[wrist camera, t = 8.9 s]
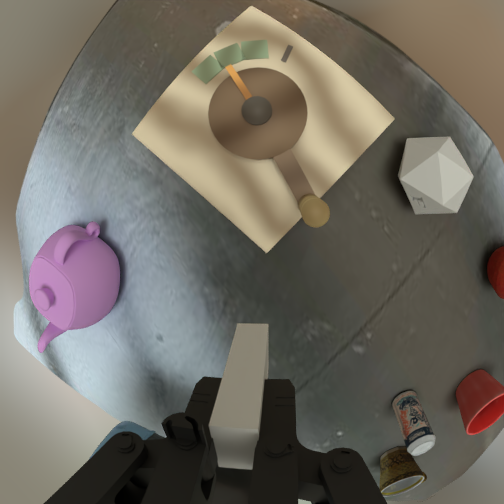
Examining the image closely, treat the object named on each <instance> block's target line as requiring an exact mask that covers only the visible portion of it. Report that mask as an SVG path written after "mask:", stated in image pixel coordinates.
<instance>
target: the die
mask: <svg viewBox="0 0 504 504" xmlns="http://www.w3.org/2000/svg"><path fill="white" fill-rule="evenodd" d="M398 178H399V180H400V182H401V184H402V186H403V188H404V190H405V192H406V194H407V196H408V199H409V201H410V203H411V205H412V207H413V210H414V212H415V214H436V213H457V212H458V210H459V208H460V205H461V203H462V201H463V199H464V197H465V195H466V193H467V190H468V188H469V186H470V184H471V181H472V179H473V175H472V173H471V171H470V169H469V167H468V166H467V164H466V162H465V161H464V159H463V157H462V155H461V154H460V152H459V151H458V149H457V147H456V146H455V144H454V143H453V141H452V140H451V138H450V137H425V138H407V140H406V144H405V149H404V153H403V157H402V161H401V165H400V169H399V172H398Z"/></svg>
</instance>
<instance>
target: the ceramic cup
mask: <svg viewBox="0 0 504 504" xmlns="http://www.w3.org/2000/svg"><path fill="white" fill-rule="evenodd" d="M426 479H427V476H426V474H425V473H424V472H422V471H421V469H420V468H419V466H418V465H417V463H416V462H415V460H414V459H413V457H412V455H411V454H410V453H409V452H408V451H407V447H406V446H403V447H395V448H393V449H390V450H388V451H386V452H385V453H384V454H383V455H382V456H381V458H380V491H381V493H382V495H383V496H385V497H387V496H394V495H398V494H401V493H404V492H406V491H409V490H411V489H413V488H414V487H416V486H417V485H419V484H420V483H422V482H424V481H426Z"/></svg>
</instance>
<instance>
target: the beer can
mask: <svg viewBox="0 0 504 504" xmlns="http://www.w3.org/2000/svg"><path fill="white" fill-rule="evenodd" d="M392 406H393V409H394V411H395V414H396V417H397V420H398V423H399V426H400V429H401V432H402V435H403V438H404V441H405V444H406V447H407V451H408V452H409V453H410V454H412V455H413V456H418V455H421V454H423V453H425V452H427V451H428V450H430V449H431V448H432V447H433V446H434V443H435V436H434V434H433V432H432V429H431V427H430V425H429V422H428V420H427V418H426V415H425V413H424V411H423V409H422V406H421V404H420V402H419V400H418V398H417V394H416V393H415V392H414V391H406V392H403V393H401V394H400V395H399V396H397V397H396V398H395V399H394V401H393V403H392Z"/></svg>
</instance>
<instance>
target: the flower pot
mask: <svg viewBox="0 0 504 504" xmlns="http://www.w3.org/2000/svg"><path fill="white" fill-rule="evenodd" d="M456 398H457V401H458V405H459V409H460V412H461V416H462V419H463V423H464V427H465V430H466V433H467V434H469V435H474V434H477V433H480V432H482V431H483V430H485V429H487V428H488V427H489V426H491V425H492V424H493V423H494V422H496V421H497V420H498V419H499V418H500V417H501V416H502V414H503V413H504V386H502V385H501V384H500V383H499V382H498V381H497V380H496V379H494V378H493V377H492V376H491V375H490V374H488V373H487V372H486V371H485V370H482V369H480V370H476V371H475V372H472V373H471V374H469V375H468V376H467V377H465V378H464V379H463V381H462V382H461V383H460V384H459V386H458V388H457V390H456Z"/></svg>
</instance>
